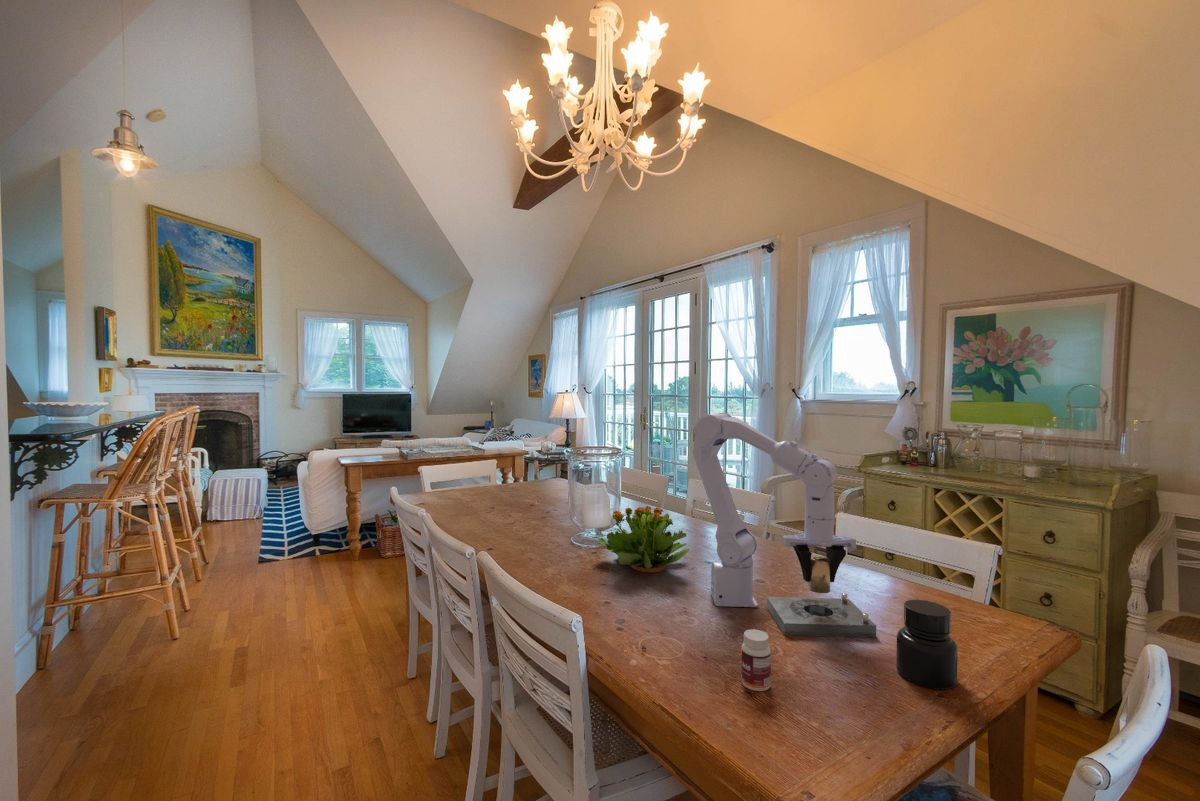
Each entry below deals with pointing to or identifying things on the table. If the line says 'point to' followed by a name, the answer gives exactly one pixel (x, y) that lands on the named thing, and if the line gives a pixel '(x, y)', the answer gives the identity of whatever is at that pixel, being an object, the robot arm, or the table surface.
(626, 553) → the potted flower
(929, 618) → the ink bottle
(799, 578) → the table surface
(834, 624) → the jig
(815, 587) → the bushing
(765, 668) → the pill bottle
